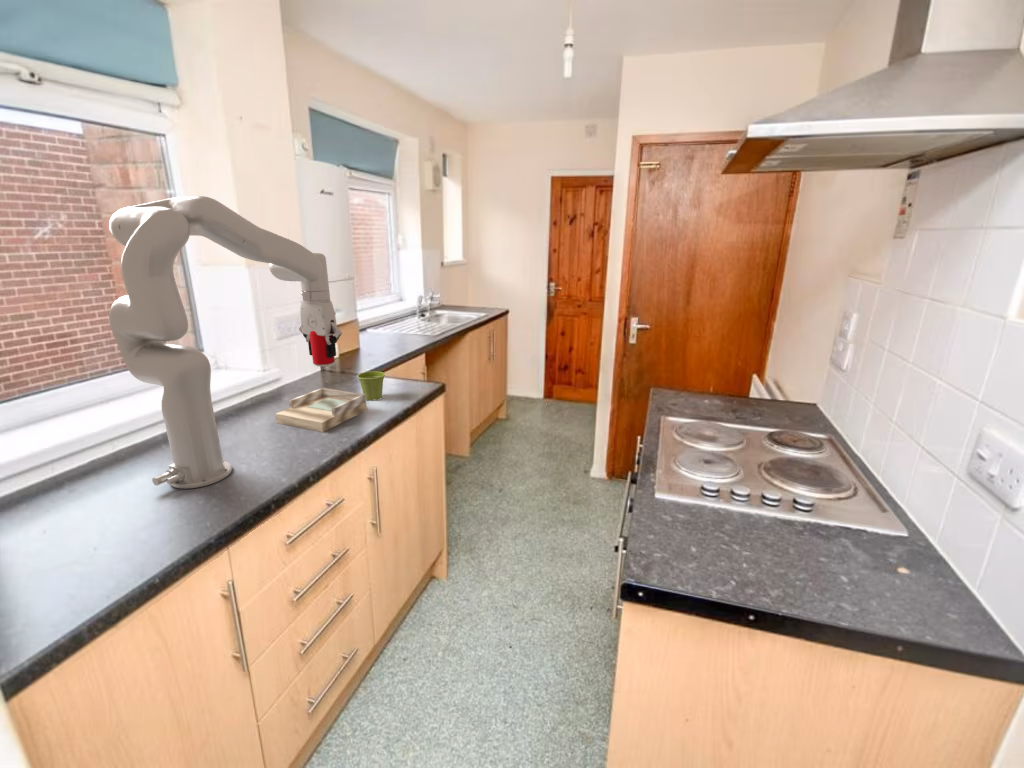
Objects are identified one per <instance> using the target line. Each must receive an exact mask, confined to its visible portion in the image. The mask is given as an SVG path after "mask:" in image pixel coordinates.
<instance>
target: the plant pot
mask: <svg viewBox="0 0 1024 768" xmlns="http://www.w3.org/2000/svg"><path fill="white" fill-rule="evenodd" d="M385 376H386V373H384V372H383V371H377V370H376V371H373V370H372V371H366V372H365V371H364V372H362V373H358V374H357V376H356V378H357V379H358V381H359V382H360V387H361V390H362V394H365V395H366V401H369V400H372V401H374V400H375V401H379V400H380V398H381V399H382V398H383V389H384V388H383V386H384V379H385V378H384V377H385ZM378 399H379V400H378Z"/></svg>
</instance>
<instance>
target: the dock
mask: <svg viewBox="0 0 1024 768" xmlns="http://www.w3.org/2000/svg"><path fill="white" fill-rule="evenodd" d="M288 407H289V408H286V409H283V410H281V411H279V412H276V413H275V414H274V415H275V422H276V424H280V425H285V426H289V427H294V428H295V427H296V428H300V429H303V430H304V429H305V430H308V431H309V430H311V431H314V432H319V433H320V432H321V433H324V432H326V431H329V430H330V429H332V428H334V427H336V426H338V425H340V424H342V423H344V422H346V421H348V419H349V420H350V418H351V419H352V417H353V418H355V417H356V416H358V415H359V416H360V415H361V414H363V413H365V412H367V411H366V410H368V409H367V408H368V406H367V400H366V395H365V394H363V393H357V392H351V391H346V390H340V389H334V388H327V387H326V388H325V387H320V388H318V389H315V390H312V391H310V392H307V393H305V394H302V395H300V396H296V397H294V398H292V399H290V400H288ZM364 411H365V412H364ZM354 416H355V417H354Z"/></svg>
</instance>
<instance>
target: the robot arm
mask: <svg viewBox="0 0 1024 768" xmlns="http://www.w3.org/2000/svg"><path fill="white" fill-rule="evenodd" d="M108 226H109V231H110V233H111V235H112V236H113V238H114V239H115V240H116V241H117V242H118V243H119V244H121V245H122V246H124V247H125V248H124V250H123V253H122V255H121V261H120V273H121V277H122V281H123V284H124V288H125V290H126V293H127V294H126V295H123V296H120V297H119V298H117V299H116V300H115V301H114V302H113V303H112V304H111V307H110V309H109V313H108V322H109V326H110V329H111V331H112V334H113V337H114V340H115V342H116V344H117V347H118V349H119V352H120V354H121V356H122V359H123V362H124V364H125V366H126V368H127V370H128V371H129V373H130V374H131V375H132V376H133V377H134V378H135V379H137V380H139V381H140V382H143V383H147V384H151V385H156V386H161V387H163V394H162V399H161V413H162V418H163V421H164V426H165V429H166V435H167V440H168V444H169V449H170V453H171V454H170V455H171V457H172V463H171V464H168V468H169V469H168V470H166V471H165V472H164V473H162V474H161V473H160V474H158V475H157V476H154V477H153V478H152V479H151V480H152V483H153V485H154V486H160V485H161V484H164V483H167V485H170V486H171V487H173V488H177V489H194V488H196V489H197V488H203V487H206V486H209V485H212V484H215V483H217V482H220V481H222V480H223V479H225V478H227V477H228V476H229V475H230V474H231V473H232V470H233V467H232V464H231V463H230V462H229V461H227V460H223V454H222V450H221V444H220V438H219V431H218V427H217V423H216V416H215V411H214V407H213V401H212V391H211V378H212V377H211V376H212V368H211V363H210V360H209V359H208V357H207V356H206V354H204V352H203V351H200V350H199V349H198V348H196V347H192V346H189V345H184V344H177V343H176V344H174V343H167V342H174V341H178V340H180V339H182V338H184V337H185V336H186V335H187V333H188V330H189V320H188V319H189V318H188V316H187V313H186V309H185V307H184V303H183V300H182V298H181V295H180V292H179V289H178V286H177V282H176V279H175V273H174V264H175V261H176V258H177V256H178V254H179V252H181V250H182V249H183V248H184V246H185V245H186V244H187V243H188V241H189V239H190V236H192V237H193V236H197V237H198V236H199V237H203V238H206V239H208V240H210V241H212V243H213V242H214V243H215V244H217V245H219V246H221V247H223V248H224V249H226V250H228V251H230V252H232V253H233V254H235V255H237V256H239V257H241V258H244V259H247V260H250V261H253V262H259V263H265V264H268V267H269V271H270V273H271V275H272V276H273V277H275V278H276V279H278V280H280V281H284V282H286V281H287V282H300V287H301V293H300V294H301V296H302V300H301V301H300V311H299V313H300V316H299V317H300V327H299V331H300V333H301V334H302V336H303V337H304V339H305V342H306V343H308V344H307V345H308V354H309V356H312V350H311V342H310V332H311V331H315V332H316V333H317V335H319V336H325V339H326V342H327V344H328V345H326V351H327V357H328V358H331V357H334V358H335V357H336V356H337V349H336V344H337V343H338V340H339V339H340V337H341V336H342V335H343V332H342V330H341V329H340V328H339V327H338V326H337V319H336V318H337V317H336V312H335V308H334V306H333V305H334V304H333V302H332V301H331V295H330V294H331V293H330V286H329V285H330V284H329V275H328V265H327V258H326V256H325V255H324V254H323V253H319V252H312V251H311V250H309V249H307V248H306V247H305V246H303V245H301V244H300V243H297V242H296V241H294V240H291V239H290V238H287V237H284V236H282V235H279V234H277V233H274V232H271V231H269V230H266V229H264V228H261V227H259V226H258V225H256V224H254V223H252V222H251V221H249V220H248V219H246V218H244V217H243V216H242V215H240V214H239V213H237V212H235V211H234V210H232V209H231V208H230V207H228V206H226V205H225V204H223V203H221V202H220V201H219V200H216V199H215V198H212V197H208V196H205V195H204V196H203V195H202V196H201V195H195V196H194V195H193V196H191V195H190V196H175V197H171V198H165V199H161V200H157V201H151V202H147V203H146V202H145V203H142V204H137V205H132V206H126V207H123V208H120V209H118V210H117V211H115V212H113V214H112V215H111V217H110V219H109V225H108ZM329 333H330V334H329ZM329 336H331V339H330V338H329Z"/></svg>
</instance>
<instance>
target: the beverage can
mask: <svg viewBox="0 0 1024 768" xmlns="http://www.w3.org/2000/svg"><path fill="white" fill-rule="evenodd" d="M329 334H330V333H329ZM329 338H330V339H331V336H329ZM310 342H311V350H312V355H311V358H312V363H313V365H314V366H316V367H329V366H332V365H333V364H334V363H335V362H336V361H335V356H334V357H331V358H328V357H327V351H326V345H328V344H327V342H326V339H325V336H319V335H317V333H316V332H315V331H311V332H310Z"/></svg>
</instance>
